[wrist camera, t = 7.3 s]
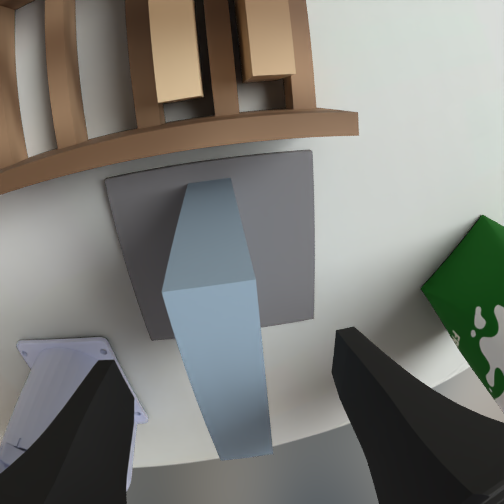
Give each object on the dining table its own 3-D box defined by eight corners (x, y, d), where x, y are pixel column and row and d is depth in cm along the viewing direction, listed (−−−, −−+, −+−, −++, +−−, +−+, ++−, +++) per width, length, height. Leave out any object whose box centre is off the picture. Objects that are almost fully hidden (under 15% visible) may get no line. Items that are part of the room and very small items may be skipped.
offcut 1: (204, 97, 13) (201, 95, 10) (172, 102, 13) (158, 102, 10) (192, -31, 10) (187, -68, 7) (160, -26, 10) (145, -61, 6)
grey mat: (311, 314, 19) (313, 318, 19) (152, 336, 19) (151, 340, 18) (309, 149, 15) (312, 151, 14) (106, 178, 14) (104, 180, 14)
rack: (314, 123, 14) (358, 135, 10) (14, 177, 13) (-41, 209, 9) (293, -61, 10) (324, -108, 5) (-2, 8, 8) (-56, -5, 4)
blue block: (247, 315, 18) (273, 453, 10) (212, 319, 18) (220, 460, 10) (230, 177, 15) (255, 279, 7) (188, 183, 15) (161, 291, 7)
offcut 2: (274, 80, 13) (295, 74, 10) (242, 83, 13) (252, 75, 10) (262, -29, 11) (278, -64, 7) (231, -27, 10) (237, -64, 7)
